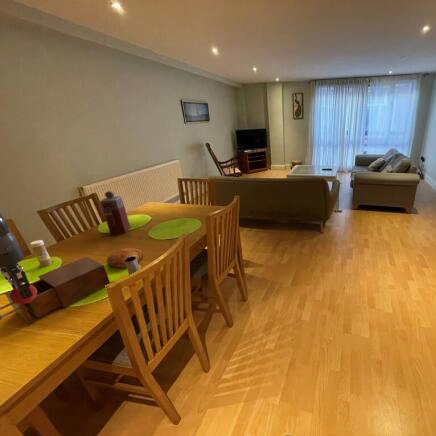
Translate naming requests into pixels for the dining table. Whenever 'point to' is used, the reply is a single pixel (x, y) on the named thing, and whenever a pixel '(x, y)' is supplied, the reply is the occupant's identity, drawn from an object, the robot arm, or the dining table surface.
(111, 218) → the maroon canister
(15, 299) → the onion
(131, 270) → the planter
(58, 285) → the cabinet
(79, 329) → the dining table surface
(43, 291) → the drawer
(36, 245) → the sprinkles bottle
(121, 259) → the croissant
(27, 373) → the dining table surface
